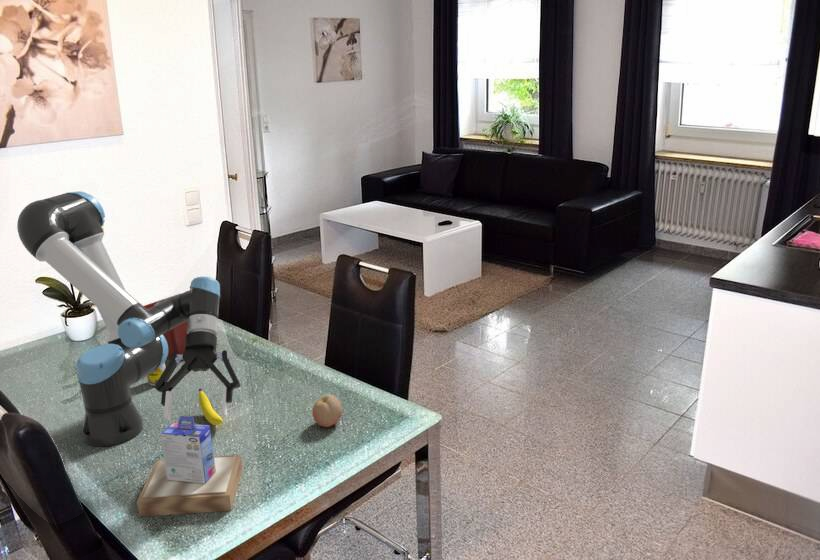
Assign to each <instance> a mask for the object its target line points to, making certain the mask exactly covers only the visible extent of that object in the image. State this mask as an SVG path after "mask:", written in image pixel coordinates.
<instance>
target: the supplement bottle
mask: <svg viewBox="0 0 820 560" xmlns="http://www.w3.org/2000/svg"><path fill="white" fill-rule="evenodd" d="M165 368H166V362H165V363H164V364H163V365H162V366H160V367H159V368H158V369H157V370H156V371H155V372H153V373H150V374H148V375H147V376H146V377H147V383H148V384H149V385H150V386H154V387H155V385H156V383H157V381H158V380H159V378H160V377H161V375H162V373H163V372H164V370H165Z"/></svg>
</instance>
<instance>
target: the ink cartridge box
mask: <svg viewBox="0 0 820 560" xmlns="http://www.w3.org/2000/svg"><path fill="white" fill-rule="evenodd" d="M186 420H187V421H190V422H191V423H188V422H187V423H186V422H182V421H186ZM160 438H161V439H160V440H161V447H162V453H163V460H164V461H165V468H166V476H167V480H174V481H185V482H194V483H206V482H207V481H208V480H209V479H210V477H211V476H212V475H213V474H214V473H215V472H216V469H215V462H214V457H215V455H214V448H213V442H212V441H213V439H212V433H211V424H210V425H209V424H195V417H194V416H183V415H180V416H179V419H178V422H177V423H176V422H171V423H170V424H168V426H167V427H165V429H164V430H163V431H162V432H161V433H160Z"/></svg>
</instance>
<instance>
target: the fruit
mask: <svg viewBox="0 0 820 560" xmlns="http://www.w3.org/2000/svg"><path fill="white" fill-rule="evenodd" d="M311 413H312V417H313V420H314V421H315V422H316V424H317V425H318V426H320V427H322V428H323V427H324V428H330V427H331V426H335V425H336V424H337V423H338V422H339V421H340V419H341V418H342V415H343V406H342V403H341V401H340V400H339V399H338V398H337V397H336V396H335V395H332V394H325V395H322V396H320V397H319V398H318V399H317V400H316V402H315V403H314V404H313V407H312V412H311Z"/></svg>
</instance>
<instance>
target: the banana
mask: <svg viewBox="0 0 820 560" xmlns="http://www.w3.org/2000/svg"><path fill="white" fill-rule="evenodd" d="M198 391H199V394H198V404H199V407H200V410H201V412H202V414H203V415H204V417H205V419H206V420H207V422H208V423H210V425H213V426H219V427H220V426H221V425H223V422H224V419H222V417H221V416H220V415H219V414H218V412H216V411H215V410H214V409H213V407H212V404H211V402H210V400H209V398H208V396H207V394H205V392H204V391H202V388H199V389H198Z"/></svg>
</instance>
